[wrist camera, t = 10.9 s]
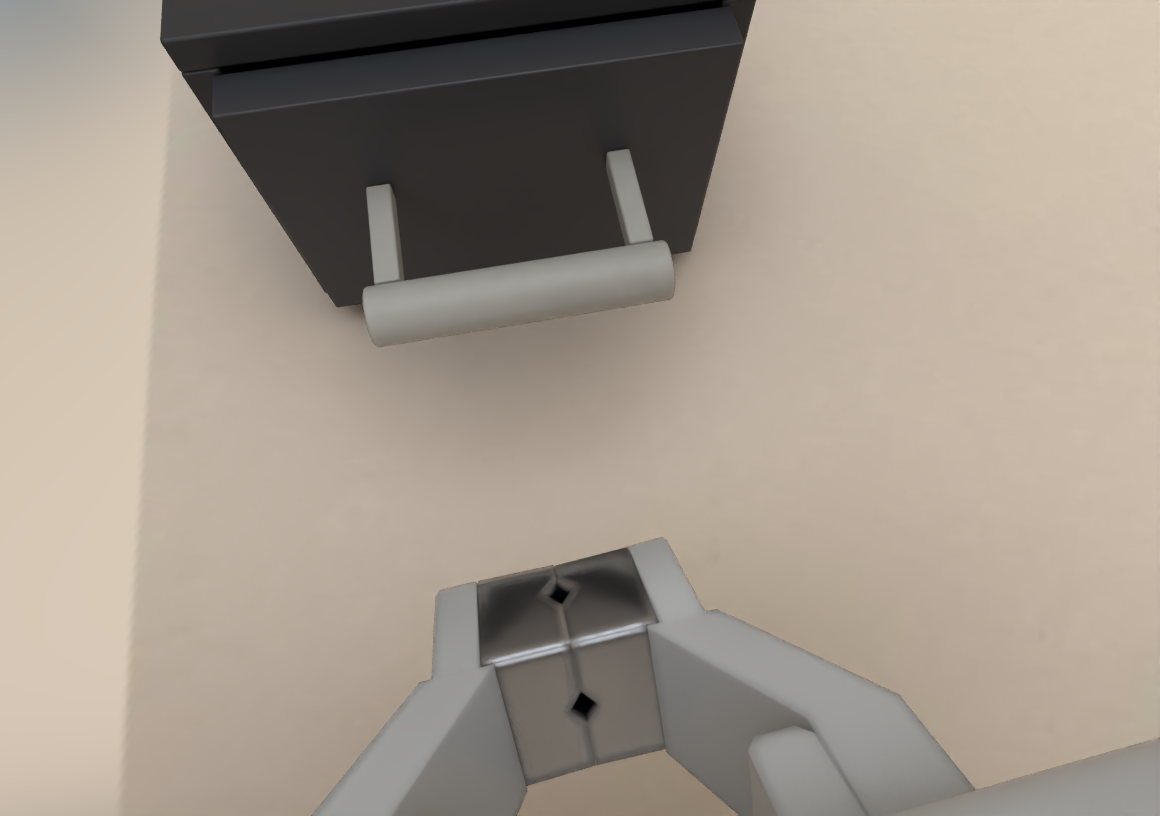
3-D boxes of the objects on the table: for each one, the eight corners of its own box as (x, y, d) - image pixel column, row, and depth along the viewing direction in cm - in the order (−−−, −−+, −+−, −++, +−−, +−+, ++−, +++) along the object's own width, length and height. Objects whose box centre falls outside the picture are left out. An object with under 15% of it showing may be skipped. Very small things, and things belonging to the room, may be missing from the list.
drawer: (724, 367, 21) (804, 198, 13) (344, 432, 20) (207, 290, 13) (608, -32, 27) (618, -293, 20) (317, 5, 26) (217, -252, 19)
